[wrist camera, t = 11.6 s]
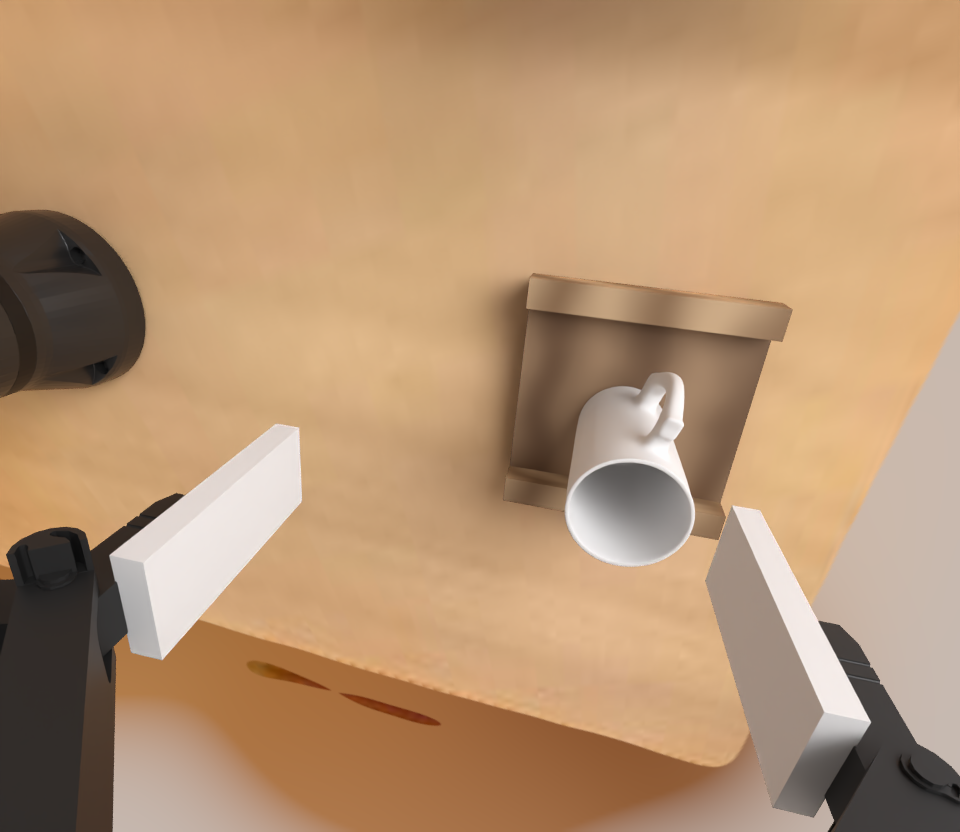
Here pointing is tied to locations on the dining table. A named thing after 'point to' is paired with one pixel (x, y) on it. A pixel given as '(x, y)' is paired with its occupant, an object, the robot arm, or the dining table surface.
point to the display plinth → (637, 377)
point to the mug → (630, 475)
